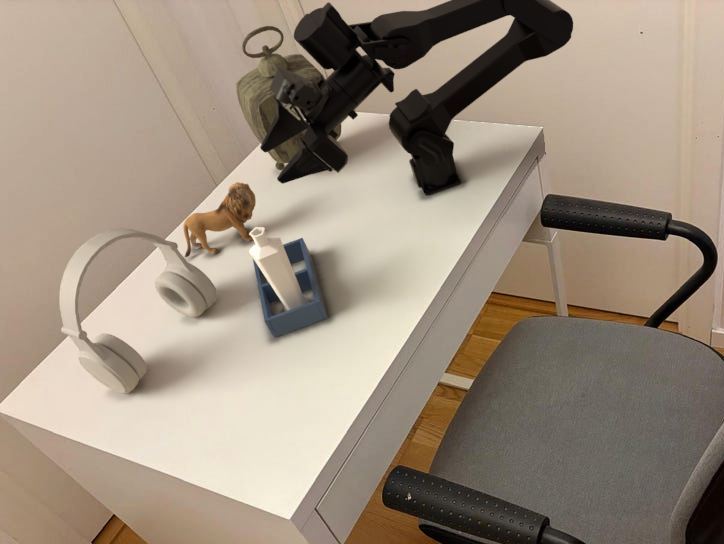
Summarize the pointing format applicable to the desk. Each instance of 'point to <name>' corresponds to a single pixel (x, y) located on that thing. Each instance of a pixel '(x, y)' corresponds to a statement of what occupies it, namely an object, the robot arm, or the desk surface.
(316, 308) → the box
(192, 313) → the headphones
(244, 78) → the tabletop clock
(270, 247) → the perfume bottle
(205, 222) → the lion figurine
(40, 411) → the desk surface
